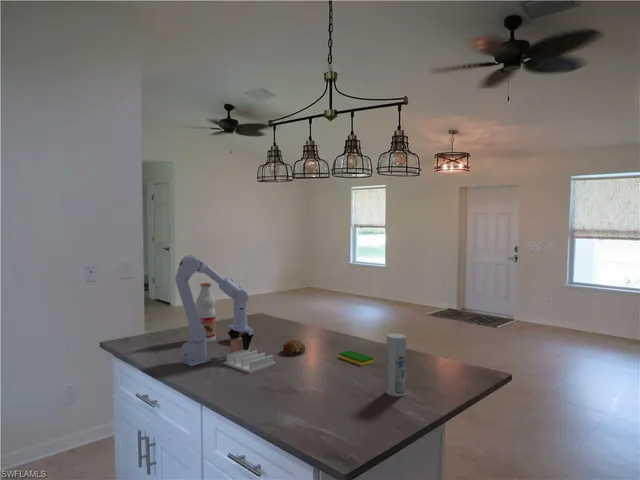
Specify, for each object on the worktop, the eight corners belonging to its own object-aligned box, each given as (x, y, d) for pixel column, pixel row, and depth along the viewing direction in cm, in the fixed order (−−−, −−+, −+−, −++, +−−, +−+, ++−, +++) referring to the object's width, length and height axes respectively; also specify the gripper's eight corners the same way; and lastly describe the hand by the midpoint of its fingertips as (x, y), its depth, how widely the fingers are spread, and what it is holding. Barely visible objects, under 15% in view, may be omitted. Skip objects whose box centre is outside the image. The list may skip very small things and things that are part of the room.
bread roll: (305, 358, 199) (306, 341, 202) (303, 355, 190) (304, 336, 193) (284, 357, 200) (285, 340, 203) (280, 354, 190) (281, 336, 194)
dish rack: (249, 373, 169) (249, 363, 169) (223, 364, 179) (223, 354, 179) (275, 364, 180) (275, 354, 179) (249, 356, 190) (250, 347, 190)
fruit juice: (219, 338, 217) (219, 282, 215) (208, 344, 208) (208, 285, 207) (203, 337, 220) (203, 281, 219) (191, 341, 211) (191, 284, 210)
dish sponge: (362, 366, 179) (362, 361, 179) (338, 358, 189) (338, 353, 189) (373, 363, 184) (373, 357, 184) (350, 355, 194) (350, 350, 194)
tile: (234, 359, 186) (234, 340, 185) (230, 358, 187) (230, 339, 187) (249, 355, 192) (249, 337, 191) (245, 353, 193) (245, 336, 193)
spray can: (391, 387, 156) (392, 332, 155) (408, 392, 152) (409, 335, 151) (382, 393, 151) (383, 335, 150) (399, 398, 147) (400, 339, 146)
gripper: (258, 318, 187) (259, 349, 187) (236, 313, 196) (237, 343, 197) (245, 321, 181) (246, 353, 182) (224, 316, 191) (224, 347, 192)
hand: (240, 348), depth 189 cm, fingers open, 6 cm apart
